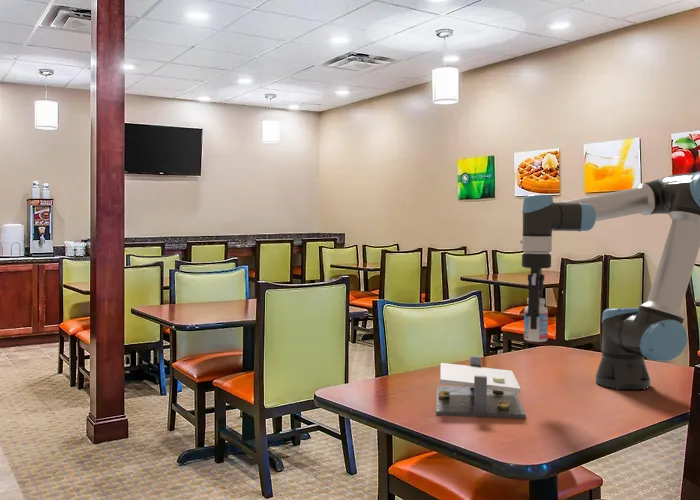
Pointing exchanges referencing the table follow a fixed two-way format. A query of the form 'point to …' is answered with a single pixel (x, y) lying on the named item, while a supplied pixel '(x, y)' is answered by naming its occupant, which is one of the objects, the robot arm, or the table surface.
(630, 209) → the robot arm
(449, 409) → the grey stand base
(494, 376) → the stage
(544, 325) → the pill bottle
